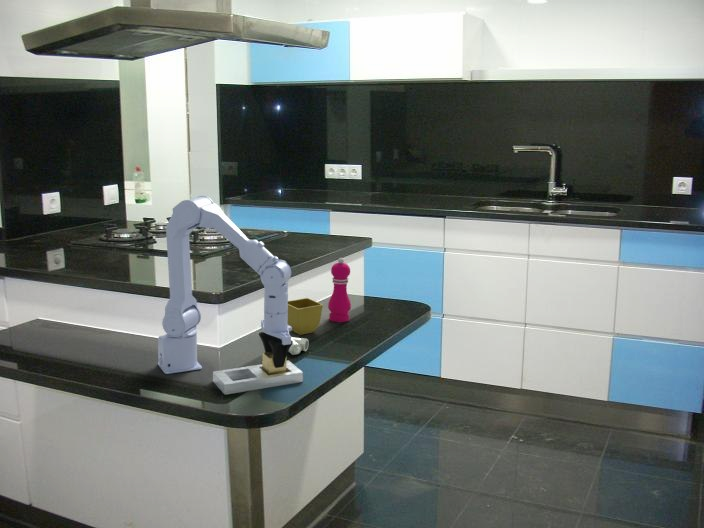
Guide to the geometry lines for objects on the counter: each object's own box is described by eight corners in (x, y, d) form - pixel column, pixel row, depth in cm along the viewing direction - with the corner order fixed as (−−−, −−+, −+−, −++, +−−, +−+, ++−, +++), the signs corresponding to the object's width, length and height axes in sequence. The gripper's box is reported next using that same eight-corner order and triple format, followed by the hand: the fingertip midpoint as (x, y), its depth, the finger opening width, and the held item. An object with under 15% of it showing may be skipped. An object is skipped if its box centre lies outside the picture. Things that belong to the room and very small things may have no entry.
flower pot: (297, 338, 211) (297, 308, 209) (282, 330, 218) (282, 301, 216) (322, 333, 216) (323, 304, 214) (306, 325, 223) (307, 297, 221)
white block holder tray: (224, 394, 170) (224, 384, 170) (212, 381, 178) (212, 371, 177) (302, 381, 180) (303, 372, 179) (288, 369, 187) (288, 360, 187)
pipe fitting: (300, 358, 197) (308, 349, 203) (300, 345, 196) (308, 336, 202) (272, 355, 199) (281, 345, 205) (272, 341, 198) (281, 332, 204)
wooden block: (268, 381, 178) (269, 358, 176) (262, 375, 181) (262, 352, 180) (285, 379, 180) (286, 356, 178) (278, 373, 184) (279, 350, 182)
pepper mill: (325, 316, 233) (326, 255, 229) (346, 315, 235) (348, 255, 231) (331, 323, 226) (333, 260, 222) (353, 322, 229) (355, 260, 224)
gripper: (303, 317, 173) (302, 371, 176) (279, 301, 185) (278, 352, 188) (275, 320, 169) (274, 375, 172) (253, 304, 182) (253, 355, 185)
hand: (275, 363), depth 180 cm, fingers closed on wooden block, 4 cm apart
